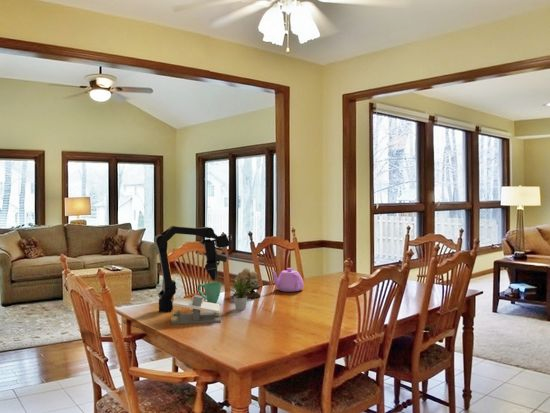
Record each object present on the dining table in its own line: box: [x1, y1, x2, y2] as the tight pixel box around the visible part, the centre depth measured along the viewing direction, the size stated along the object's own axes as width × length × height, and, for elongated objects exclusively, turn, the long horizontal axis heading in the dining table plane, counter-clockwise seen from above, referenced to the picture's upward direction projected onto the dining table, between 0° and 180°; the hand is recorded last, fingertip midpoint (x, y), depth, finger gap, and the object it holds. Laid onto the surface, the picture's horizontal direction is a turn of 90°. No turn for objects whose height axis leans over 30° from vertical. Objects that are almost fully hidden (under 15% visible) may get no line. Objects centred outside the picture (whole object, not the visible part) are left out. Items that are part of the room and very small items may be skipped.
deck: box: [172, 294, 220, 313], centre depth 231 cm, size 22×14×5 cm, turn 97°
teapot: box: [271, 267, 304, 293], centre depth 297 cm, size 22×22×14 cm
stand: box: [170, 309, 222, 325], centre depth 231 cm, size 23×16×6 cm
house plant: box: [229, 278, 254, 311], centre depth 250 cm, size 14×14×16 cm
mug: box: [197, 282, 222, 304], centre depth 269 cm, size 15×10×10 cm
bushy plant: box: [233, 267, 262, 300], centre depth 281 cm, size 18×12×17 cm, turn 64°
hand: (215, 278), depth 259 cm, fingers open, 9 cm apart
